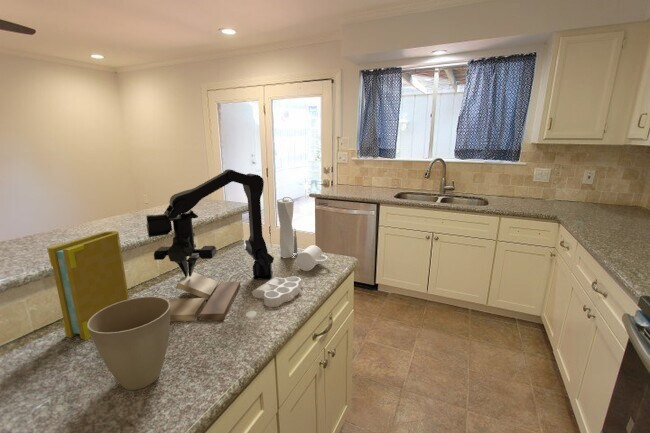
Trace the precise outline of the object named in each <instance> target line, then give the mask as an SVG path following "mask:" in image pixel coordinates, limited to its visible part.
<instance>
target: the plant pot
mask: <svg viewBox="0 0 650 433" xmlns="http://www.w3.org/2000/svg"><path fill="white" fill-rule="evenodd" d="M170 323H171V321H170V302H169V300H168V299H167V298H164V297H161V296H154V295H153V296H151V295H150V296H139V297H134V298H133V297H132V298H129V299H128V300H124V301H121V302H118V303H115V304H113V305H110V306H108V307H106V308H104V309H102V310H100V311H99V312H97V313H96V314H94V315H93V316H92V317H91V318H90V319H89V321H88V323H87V327H88V330H89V332H90V335H91V337H90V338H91V339H92V341H93V344H94V346H95V348H96V351H97V352H98V354H99V356H100V358H101V359H102V361H103V363H104V364H105V366H106V368H107V369H108V371H109V372H110V373H111V375H112V376H113V377H114V379H115V380H116V381H117V382H118V383H119V384H120V386H121V387H122V388H123V389H124V390H127V391H137V390H141V389H143V388H146V387H149V386H150V385H152V384H153V383H155V381H157V379H158V378H159V377H160V375H161V372H162V370H163V365H164V361H165V358H166V353H167V349H168V342H169V337H170V336H169V335H170V328H171V327H170Z"/></svg>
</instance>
